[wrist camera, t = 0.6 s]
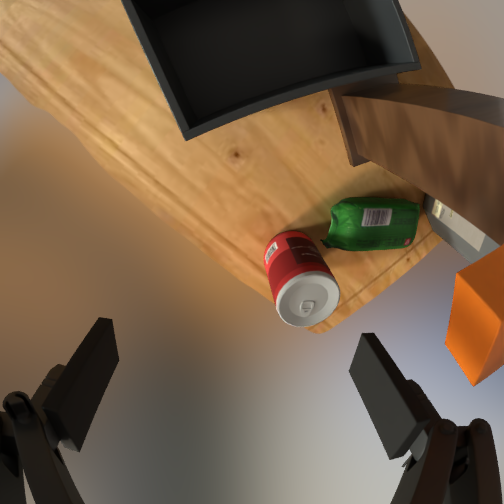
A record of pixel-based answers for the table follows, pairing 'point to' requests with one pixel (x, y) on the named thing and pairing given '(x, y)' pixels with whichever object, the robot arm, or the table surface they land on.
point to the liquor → (458, 231)
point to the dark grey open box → (264, 51)
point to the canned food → (300, 280)
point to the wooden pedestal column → (430, 142)
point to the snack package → (372, 224)
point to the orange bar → (478, 317)
